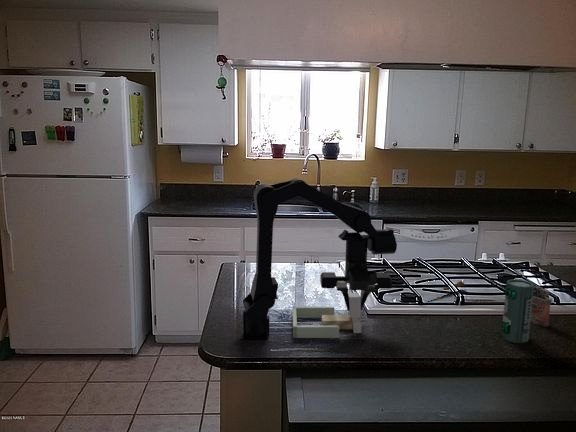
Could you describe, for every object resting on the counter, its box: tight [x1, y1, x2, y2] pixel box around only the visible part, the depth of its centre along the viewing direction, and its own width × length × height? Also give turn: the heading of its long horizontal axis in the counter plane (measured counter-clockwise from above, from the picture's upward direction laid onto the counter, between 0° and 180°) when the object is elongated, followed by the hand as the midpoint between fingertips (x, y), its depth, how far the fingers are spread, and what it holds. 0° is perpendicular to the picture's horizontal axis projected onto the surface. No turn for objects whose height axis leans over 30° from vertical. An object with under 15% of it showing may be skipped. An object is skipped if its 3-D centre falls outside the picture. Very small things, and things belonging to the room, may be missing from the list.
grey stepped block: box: [348, 292, 362, 334], centre depth 129 cm, size 3×9×9 cm, turn 0°
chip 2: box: [335, 314, 353, 330], centre depth 130 cm, size 4×4×2 cm
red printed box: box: [530, 285, 552, 327], centre depth 133 cm, size 8×3×10 cm, turn 23°
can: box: [501, 278, 535, 344], centre depth 121 cm, size 6×6×15 cm
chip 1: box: [321, 314, 337, 326], centre depth 130 cm, size 4×4×2 cm
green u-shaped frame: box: [292, 306, 340, 339], centre depth 129 cm, size 12×14×3 cm
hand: (354, 310), depth 129 cm, fingers closed on grey stepped block, 3 cm apart
